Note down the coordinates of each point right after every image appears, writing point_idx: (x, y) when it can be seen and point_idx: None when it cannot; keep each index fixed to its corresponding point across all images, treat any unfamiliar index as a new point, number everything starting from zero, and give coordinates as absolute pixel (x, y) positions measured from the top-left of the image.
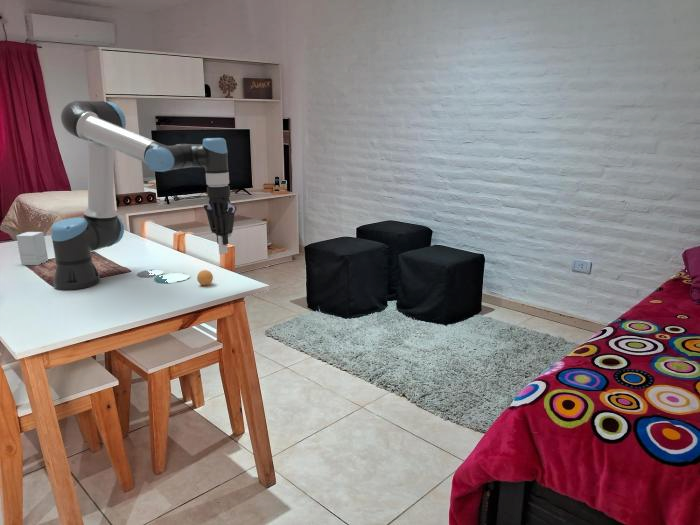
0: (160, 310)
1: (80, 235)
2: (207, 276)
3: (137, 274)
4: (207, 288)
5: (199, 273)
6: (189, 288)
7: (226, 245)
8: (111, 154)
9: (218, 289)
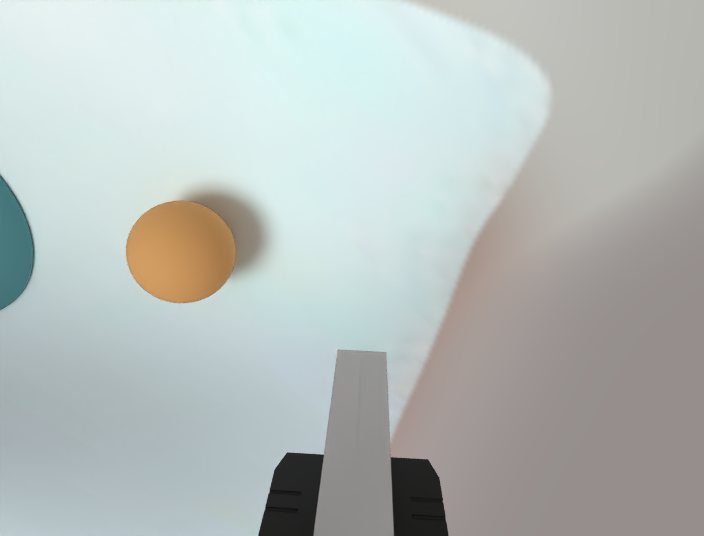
0: None
1: None
2: (221, 280)
3: None
4: (260, 274)
5: (158, 297)
6: (178, 314)
7: (388, 431)
8: None
9: (327, 261)
